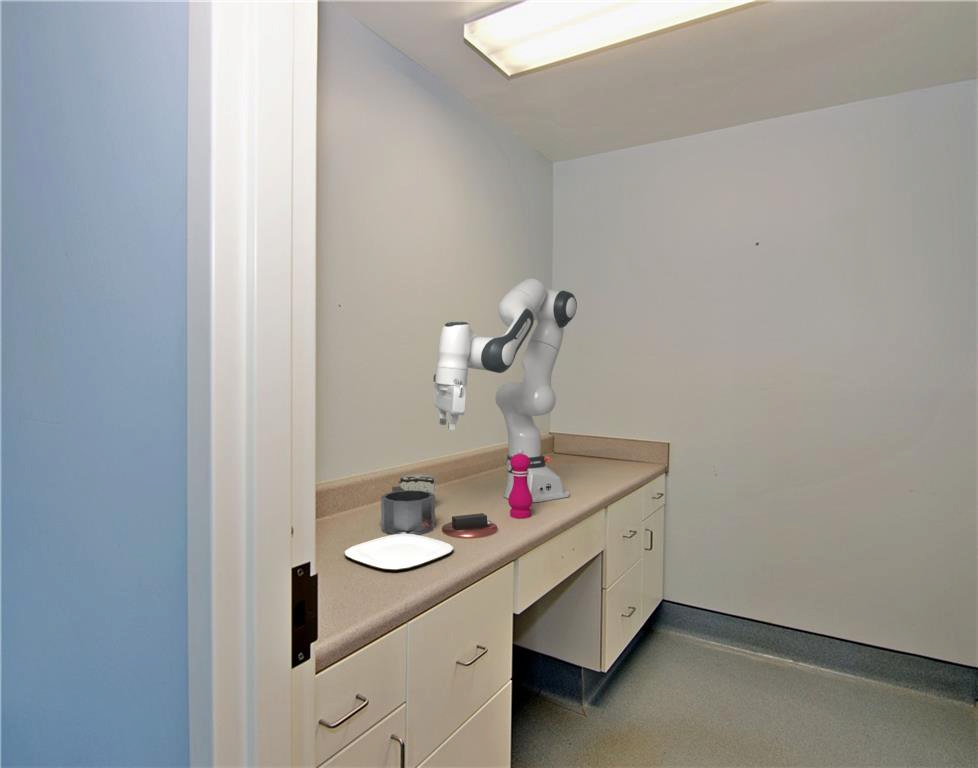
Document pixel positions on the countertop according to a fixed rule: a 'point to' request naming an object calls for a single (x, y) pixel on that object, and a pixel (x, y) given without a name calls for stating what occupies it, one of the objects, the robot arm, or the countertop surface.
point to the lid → (469, 527)
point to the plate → (398, 551)
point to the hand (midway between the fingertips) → (446, 427)
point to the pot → (407, 512)
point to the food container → (418, 482)
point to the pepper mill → (520, 487)
